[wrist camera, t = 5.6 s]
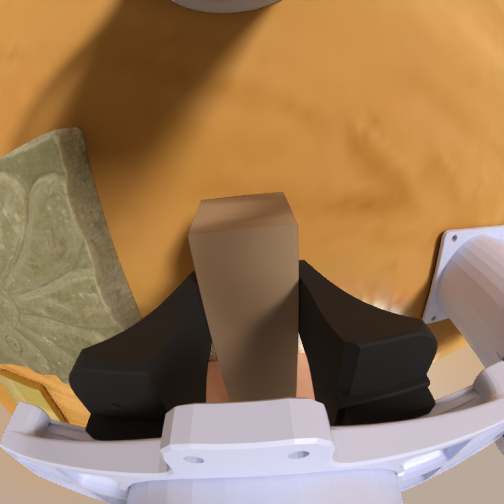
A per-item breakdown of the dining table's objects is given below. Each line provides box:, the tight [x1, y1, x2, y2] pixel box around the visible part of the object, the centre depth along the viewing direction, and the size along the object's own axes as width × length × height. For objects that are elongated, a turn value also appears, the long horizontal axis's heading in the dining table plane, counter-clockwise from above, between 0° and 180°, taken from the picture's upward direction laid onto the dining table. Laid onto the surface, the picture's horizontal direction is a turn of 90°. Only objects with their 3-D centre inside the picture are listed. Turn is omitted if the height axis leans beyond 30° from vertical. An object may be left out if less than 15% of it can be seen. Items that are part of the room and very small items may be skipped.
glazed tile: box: [206, 353, 315, 403], centre depth 18 cm, size 8×2×7 cm, turn 95°
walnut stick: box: [188, 192, 299, 402], centre depth 13 cm, size 4×12×4 cm, turn 5°
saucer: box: [0, 370, 65, 423], centre depth 24 cm, size 9×9×2 cm
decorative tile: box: [0, 127, 142, 385], centre depth 16 cm, size 19×20×4 cm
